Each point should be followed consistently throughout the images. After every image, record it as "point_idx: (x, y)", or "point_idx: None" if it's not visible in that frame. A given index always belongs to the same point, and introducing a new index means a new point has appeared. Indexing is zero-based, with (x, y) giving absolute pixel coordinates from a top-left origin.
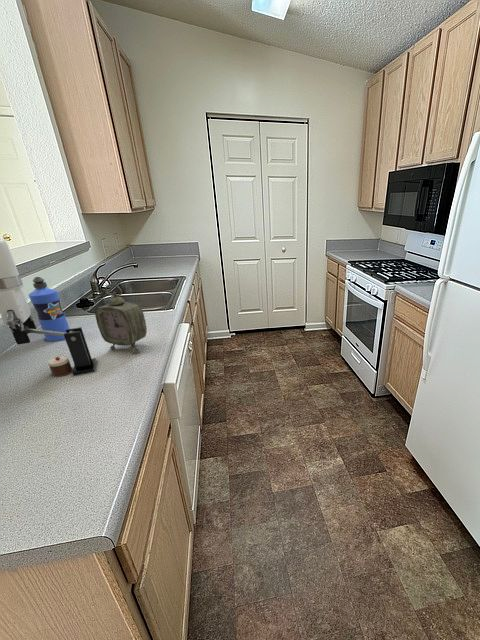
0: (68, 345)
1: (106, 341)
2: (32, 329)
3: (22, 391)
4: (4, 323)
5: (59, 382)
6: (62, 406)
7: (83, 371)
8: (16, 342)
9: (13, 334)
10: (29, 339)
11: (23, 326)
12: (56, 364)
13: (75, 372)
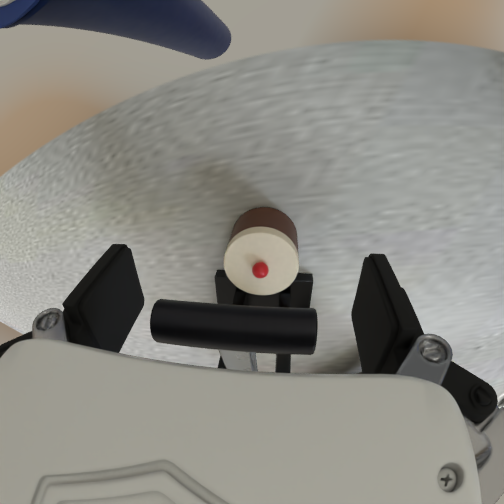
0: (219, 360)
1: (362, 373)
2: (232, 363)
3: (155, 133)
4: (12, 345)
5: (182, 234)
6: (61, 254)
7: (217, 299)
8: (107, 250)
9: (74, 293)
10: (135, 315)
11: (269, 345)
12: (224, 260)
13: (215, 282)
